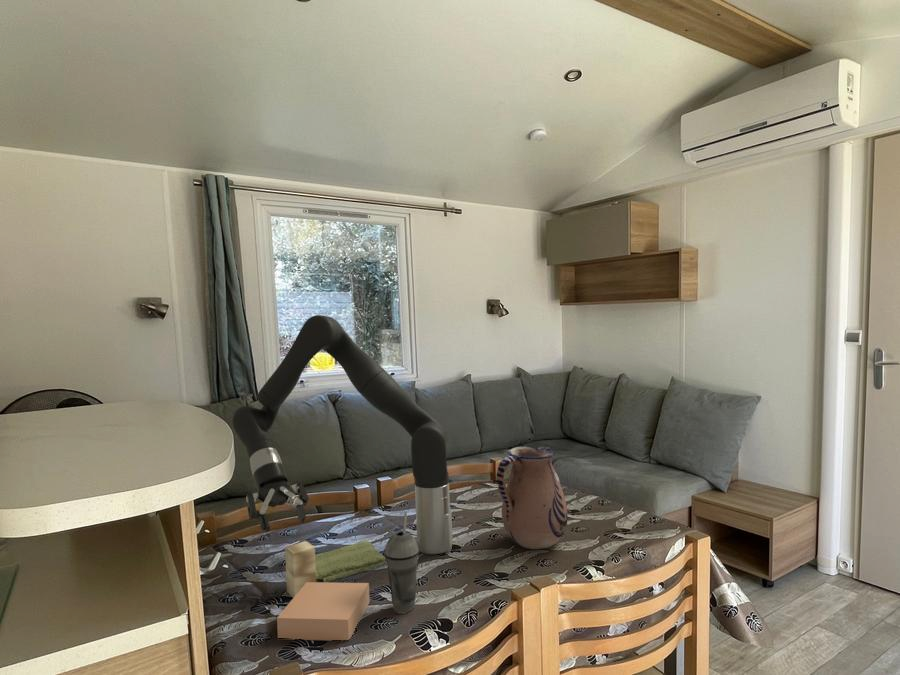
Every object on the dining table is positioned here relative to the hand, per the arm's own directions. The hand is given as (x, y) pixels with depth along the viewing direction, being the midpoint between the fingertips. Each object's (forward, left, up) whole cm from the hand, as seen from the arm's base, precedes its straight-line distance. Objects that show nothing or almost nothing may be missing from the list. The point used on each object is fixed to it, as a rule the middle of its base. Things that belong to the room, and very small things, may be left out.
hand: (285, 525), depth 120 cm
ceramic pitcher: (-59, -20, -13) cm, 64 cm away
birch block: (-6, +6, -12) cm, 15 cm away
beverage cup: (-31, +12, -13) cm, 36 cm away
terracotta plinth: (-16, +17, -12) cm, 27 cm away
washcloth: (-12, -7, -13) cm, 19 cm away
